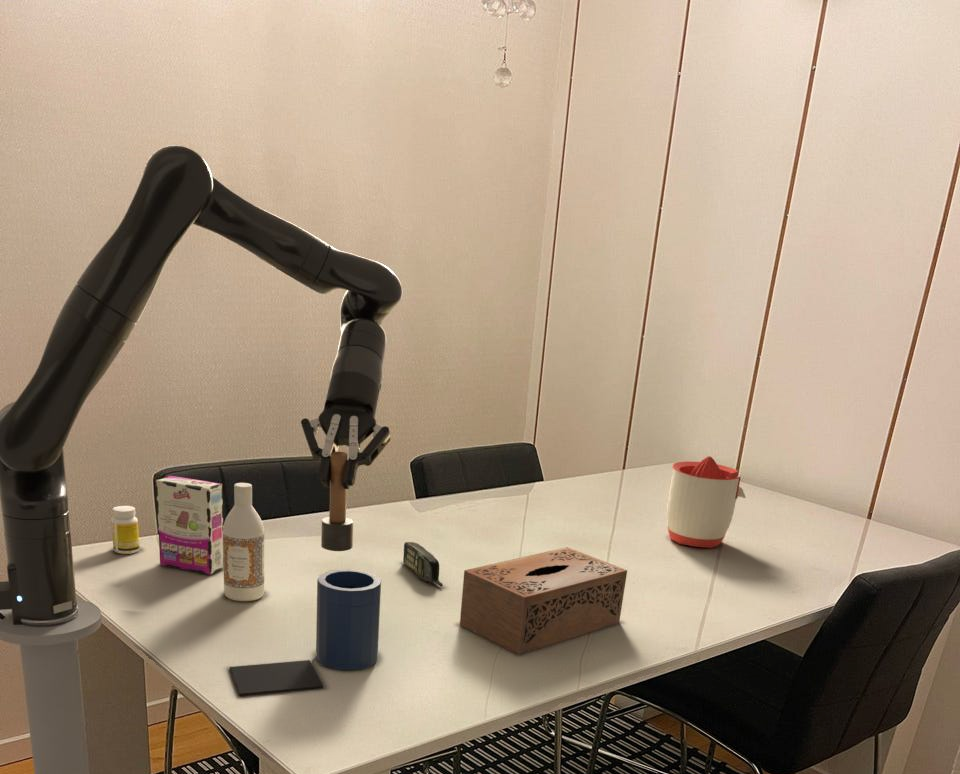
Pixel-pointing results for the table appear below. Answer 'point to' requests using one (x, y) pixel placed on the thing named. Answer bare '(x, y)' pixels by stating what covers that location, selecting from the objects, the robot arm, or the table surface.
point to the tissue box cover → (541, 598)
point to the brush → (337, 509)
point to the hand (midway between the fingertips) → (335, 484)
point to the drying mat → (275, 678)
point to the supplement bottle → (125, 530)
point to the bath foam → (243, 548)
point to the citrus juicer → (701, 502)
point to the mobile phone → (421, 562)
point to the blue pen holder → (347, 619)
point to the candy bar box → (190, 524)
